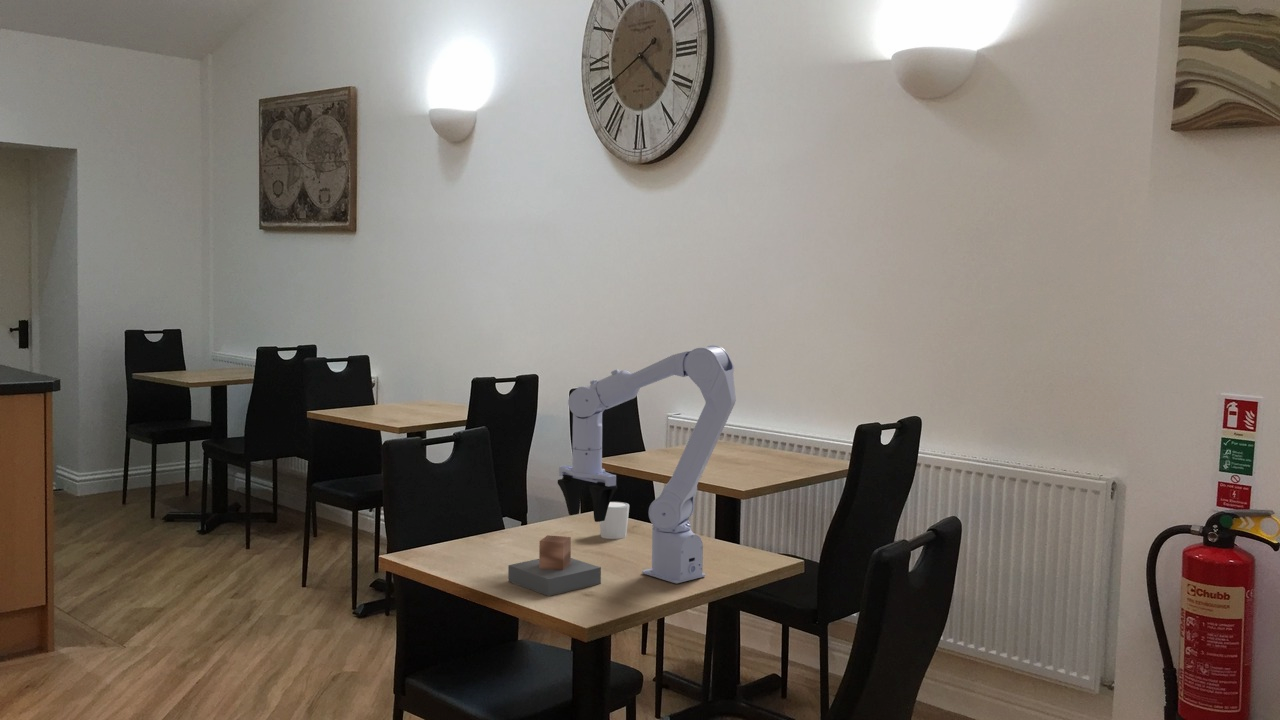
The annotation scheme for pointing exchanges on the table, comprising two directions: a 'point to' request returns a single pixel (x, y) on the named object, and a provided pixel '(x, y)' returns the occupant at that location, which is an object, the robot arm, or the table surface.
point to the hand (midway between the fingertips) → (586, 517)
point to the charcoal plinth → (554, 576)
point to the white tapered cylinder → (615, 521)
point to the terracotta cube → (555, 552)
